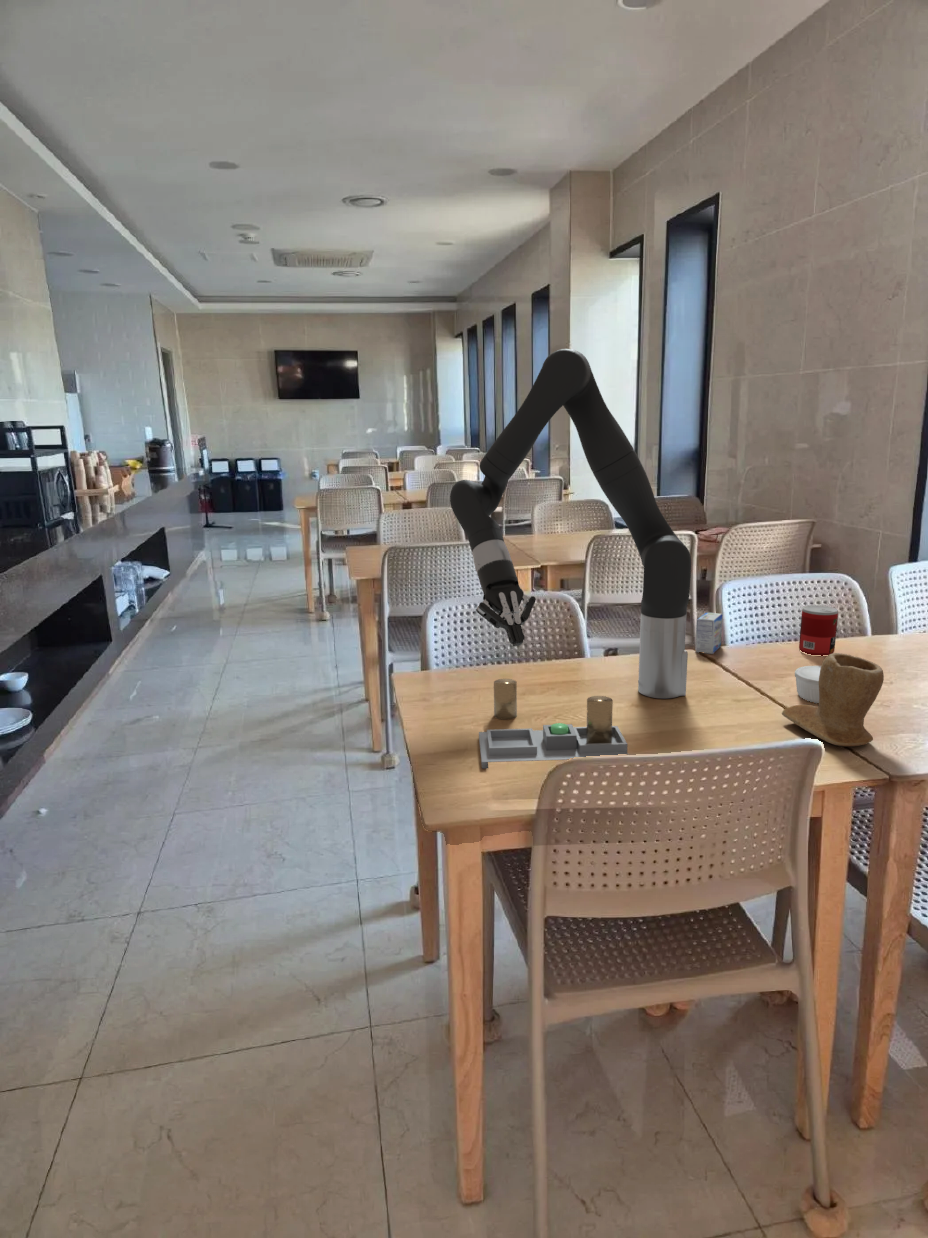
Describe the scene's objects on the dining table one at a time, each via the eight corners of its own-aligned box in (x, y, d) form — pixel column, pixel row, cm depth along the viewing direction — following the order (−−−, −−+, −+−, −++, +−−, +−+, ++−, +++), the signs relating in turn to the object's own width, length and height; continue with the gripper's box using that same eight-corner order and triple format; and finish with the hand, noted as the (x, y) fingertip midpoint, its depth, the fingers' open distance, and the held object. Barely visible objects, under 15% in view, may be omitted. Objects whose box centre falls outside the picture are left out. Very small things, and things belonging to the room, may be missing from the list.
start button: (566, 735, 139) (566, 723, 138) (569, 742, 136) (569, 729, 135) (549, 736, 139) (549, 723, 138) (552, 742, 136) (552, 730, 135)
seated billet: (608, 737, 140) (609, 695, 138) (613, 747, 135) (615, 704, 133) (584, 738, 140) (585, 696, 138) (588, 748, 135) (589, 704, 133)
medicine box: (712, 654, 191) (714, 620, 189) (694, 652, 193) (696, 618, 191) (721, 646, 197) (723, 613, 195) (703, 644, 199) (705, 611, 197)
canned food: (837, 657, 186) (842, 612, 183) (802, 656, 188) (806, 612, 185) (829, 648, 193) (834, 605, 191) (795, 647, 195) (799, 604, 192)
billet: (515, 716, 154) (515, 678, 152) (517, 725, 150) (517, 685, 148) (493, 717, 154) (493, 679, 152) (495, 725, 150) (494, 686, 148)
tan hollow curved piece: (891, 747, 136) (901, 665, 132) (831, 754, 133) (839, 671, 130) (834, 716, 150) (841, 641, 147) (779, 722, 148) (785, 646, 144)
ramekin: (860, 696, 161) (862, 672, 159) (842, 711, 153) (844, 686, 151) (804, 685, 168) (806, 661, 167) (784, 699, 160) (786, 674, 159)
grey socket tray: (614, 734, 144) (614, 714, 143) (630, 764, 132) (630, 743, 131) (478, 738, 144) (478, 718, 143) (481, 768, 131) (481, 747, 130)
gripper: (469, 561, 153) (493, 641, 147) (530, 555, 158) (555, 632, 152) (459, 579, 159) (481, 656, 153) (517, 572, 164) (541, 647, 158)
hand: (518, 644), depth 152 cm, fingers closed
